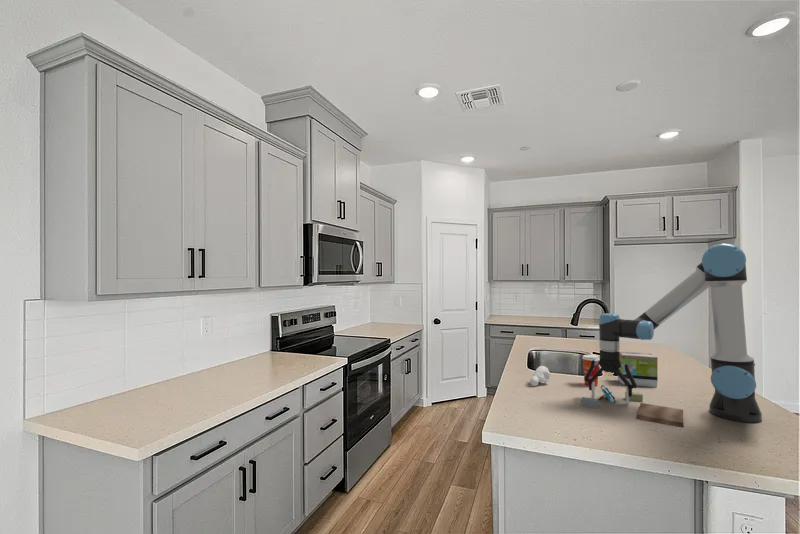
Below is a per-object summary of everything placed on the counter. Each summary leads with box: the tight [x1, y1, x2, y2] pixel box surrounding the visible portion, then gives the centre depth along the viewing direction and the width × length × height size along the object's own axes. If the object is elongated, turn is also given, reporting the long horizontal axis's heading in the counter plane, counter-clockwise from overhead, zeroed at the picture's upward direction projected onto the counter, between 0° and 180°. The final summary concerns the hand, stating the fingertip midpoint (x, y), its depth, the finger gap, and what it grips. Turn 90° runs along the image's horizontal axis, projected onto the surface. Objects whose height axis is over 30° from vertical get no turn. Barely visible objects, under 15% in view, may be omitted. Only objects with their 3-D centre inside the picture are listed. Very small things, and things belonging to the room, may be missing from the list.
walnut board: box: [636, 402, 684, 428], centre depth 148 cm, size 14×16×2 cm
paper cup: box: [581, 354, 600, 387], centre depth 189 cm, size 8×8×14 cm
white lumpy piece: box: [529, 365, 551, 387], centre depth 190 cm, size 6×8×12 cm
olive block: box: [624, 391, 644, 403], centre depth 167 cm, size 6×3×3 cm, turn 69°
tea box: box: [617, 350, 658, 389], centre depth 191 cm, size 15×10×15 cm, turn 73°
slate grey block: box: [580, 396, 599, 409], centre depth 159 cm, size 6×3×3 cm, turn 59°
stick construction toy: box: [597, 384, 617, 405], centre depth 166 cm, size 12×7×8 cm
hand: (610, 401), depth 165 cm, fingers open, 12 cm apart
